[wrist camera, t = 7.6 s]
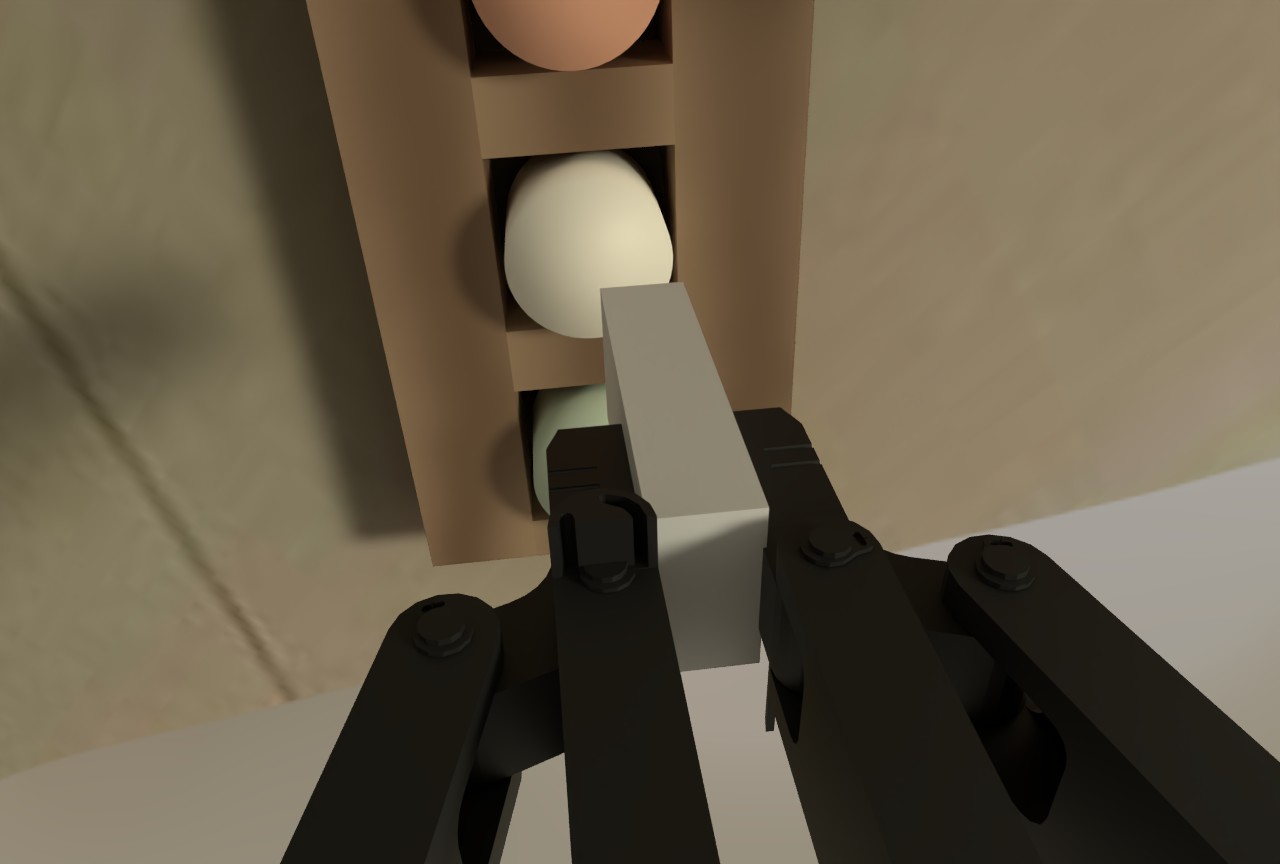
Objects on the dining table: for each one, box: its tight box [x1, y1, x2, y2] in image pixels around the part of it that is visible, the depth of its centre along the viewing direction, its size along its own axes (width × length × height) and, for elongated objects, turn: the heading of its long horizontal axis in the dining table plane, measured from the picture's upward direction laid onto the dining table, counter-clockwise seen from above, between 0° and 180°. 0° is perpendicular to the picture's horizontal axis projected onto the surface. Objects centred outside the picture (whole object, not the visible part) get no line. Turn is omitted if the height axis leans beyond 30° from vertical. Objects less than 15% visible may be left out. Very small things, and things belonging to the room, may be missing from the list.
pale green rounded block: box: [532, 383, 609, 515], centre depth 30 cm, size 4×4×4 cm
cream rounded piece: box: [504, 149, 673, 338], centre depth 26 cm, size 4×4×4 cm
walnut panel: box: [306, 0, 814, 566], centre depth 27 cm, size 12×22×3 cm, turn 3°
